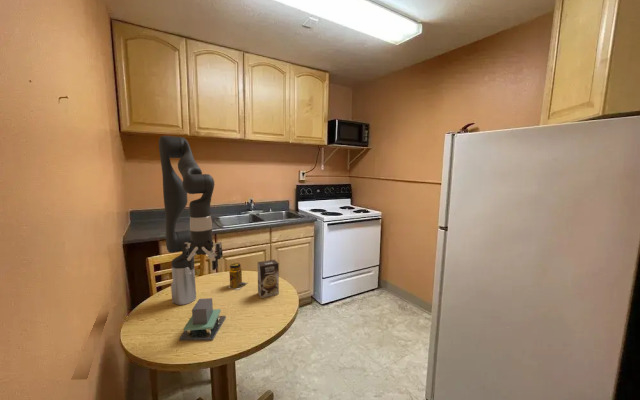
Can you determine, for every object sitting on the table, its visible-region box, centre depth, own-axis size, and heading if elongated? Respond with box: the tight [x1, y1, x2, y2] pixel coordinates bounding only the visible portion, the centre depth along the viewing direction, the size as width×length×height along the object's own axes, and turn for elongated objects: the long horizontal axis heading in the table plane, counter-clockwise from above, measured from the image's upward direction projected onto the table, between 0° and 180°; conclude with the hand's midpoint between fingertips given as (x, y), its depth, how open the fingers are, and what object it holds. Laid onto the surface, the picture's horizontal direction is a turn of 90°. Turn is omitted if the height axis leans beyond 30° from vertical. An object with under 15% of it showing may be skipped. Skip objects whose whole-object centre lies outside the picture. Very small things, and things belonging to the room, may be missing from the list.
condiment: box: [226, 262, 248, 291], centre depth 138 cm, size 7×8×12 cm
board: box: [183, 297, 222, 332], centre depth 102 cm, size 10×12×7 cm
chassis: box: [179, 315, 227, 341], centre depth 102 cm, size 12×14×4 cm
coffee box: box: [257, 259, 280, 299], centre depth 130 cm, size 9×6×16 cm
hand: (203, 269), depth 100 cm, fingers open, 8 cm apart
